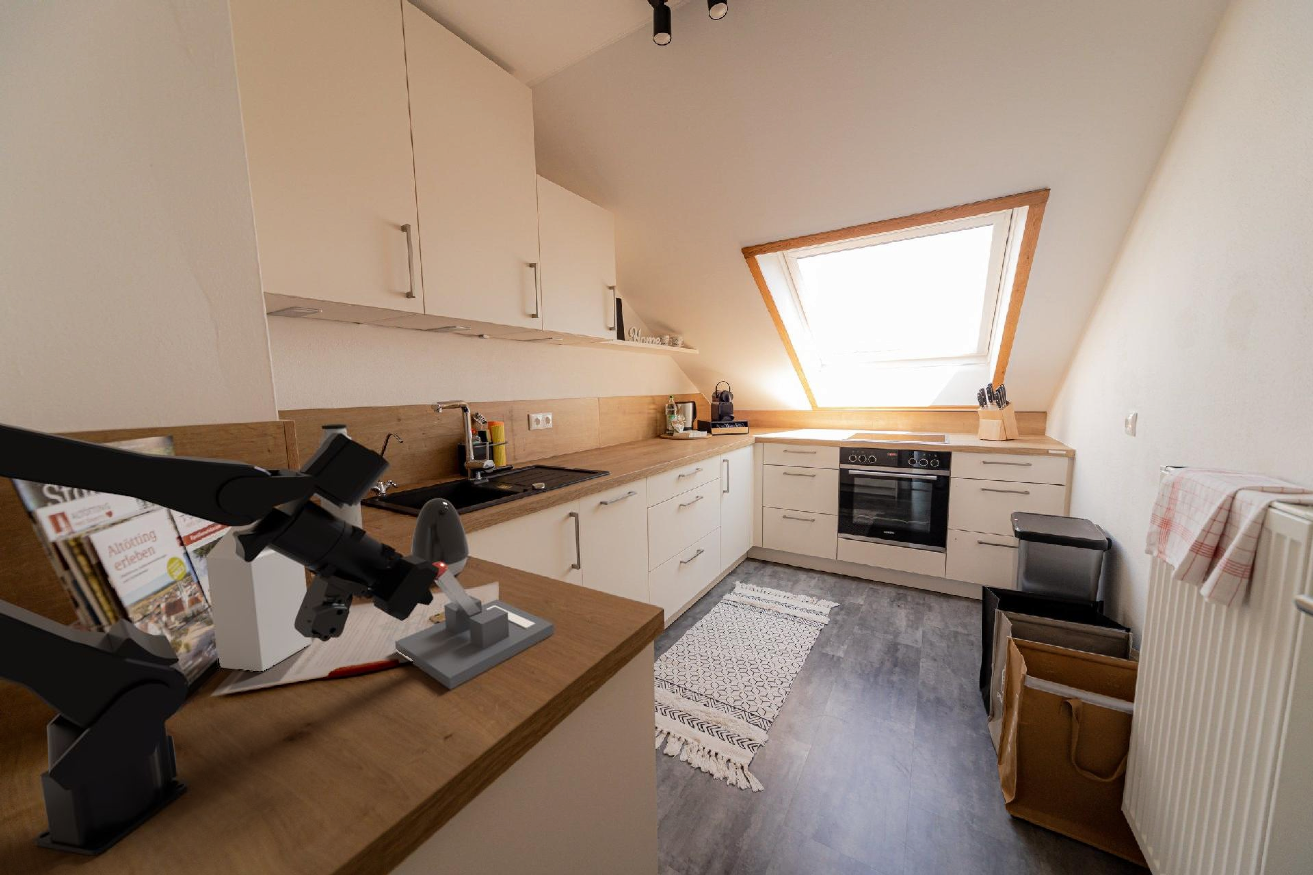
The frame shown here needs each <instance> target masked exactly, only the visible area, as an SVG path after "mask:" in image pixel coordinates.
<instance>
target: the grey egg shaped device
mask: <svg viewBox="0 0 1313 875" xmlns="http://www.w3.org/2000/svg"><path fill="white" fill-rule="evenodd" d="M415 522H416V523H415V526H414V530H413V535H412V541H411V548H410V549H411V551H410V555H414V556H416V557H419V558H421V559H424V560H426V561H428V562H430V563H431V564H433V563H435V562H443V563H445V564H446V565H447V567H448V569H449V571H450V572H451V573H452V575H453V576H454V577H455V576H456V575H458V574H459V573H460V572H461V571H462V570H463V568H465V566H466V563H467V559H468V556H469V554H470V549H469V542H468V539H467V536H466V531H465V529H464V525H463V523H462V521H461V518H460V515H459V513H458V512H457V510H456V508H455V506H454V505H453V504H452V503H451V502H450V501H449V500H447V499H445V498H442V497H438V498H437V497H436V498H433V499H430V500H428V501H427V502H426V503H424V505H423V507H422V508H421V510H420V512H419V514H418V515H417V520H416V521H415Z"/></svg>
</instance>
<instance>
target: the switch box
mask: <svg viewBox="0 0 1313 875" xmlns="http://www.w3.org/2000/svg"><path fill="white" fill-rule="evenodd" d="M469 596H470V598H471V599H472V600H473V602H474V603H475V604H476V605H477V607H478V608H479V609H480V611H481V612H482V613H479V614H477V615H475V616H472V617H470V618H469V622H468V621H466V619H465V618H464V617H463V616H462V614H461V613H460V612H459V611H458V609H457V608H456V607H455V606H454V605H453V603H452V602H449V603H447V604H445V605H443V607H444V619H445V620H444V621H441V622H439V623H436V624H434V625H432V626H429V627H428V628H425V629H424V628H423V629H422V630H420V631H417V632H415V633H412V634H410V635H407V636H405V637H403V638H399V639H398V640H395V642H394V643H395V644H394V645H395V646H394V647H395V650H396V649H397V650H398V651H399V652H401V653H402V654H404V655H405V656H408V657H409V658H411V659H412V660H413V663H412V665H414V666H415V667H417V668H418V667H419V668H418V669H420V670H421V671H423V672H424V673H426V674H427V675H429V676H430V677H432V679H435V680H436V681H437V682H439V683H440V684H442V685H443V686H444V687H446V688H447V689H448V690H451V691H452V690H453V689H454V688H457V687H458V686H460V685H461V684H463V683H466V682H467V681H469V680H471V679H473V678H475V677H476V676H478V675H480V674H482V673H484V672H486V671H488V670H490V669H492V668H493V667H495V666H497V665H499V664H500V663H503V662H504V661H506V660H508V659H510V658H512V657H514V656H515V655H517V654H520V653H521V652H523V651H524V650H527V649H528V648H530V647H532V646H535V644H538V643H539V642H541V641H544V640H545V639H547V638H548V637H551V636H552V635H554V634H555V629H554V628H555V626H554V624H555V623H552V622H551V621H548V620H545V619H543V618H541V617H538V616H536V615H535V614H532V613H529V612H527V611H525V610H523V609H520V608H518V607H516V606H513V605H511V604H509V603H506V602H504V601H501V600H500V599H497V598H496V599H494V600H492V601H489V602H487V603H485V604H482V600H481V599H478V598H476V597H474V596H472V595H469Z"/></svg>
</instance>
